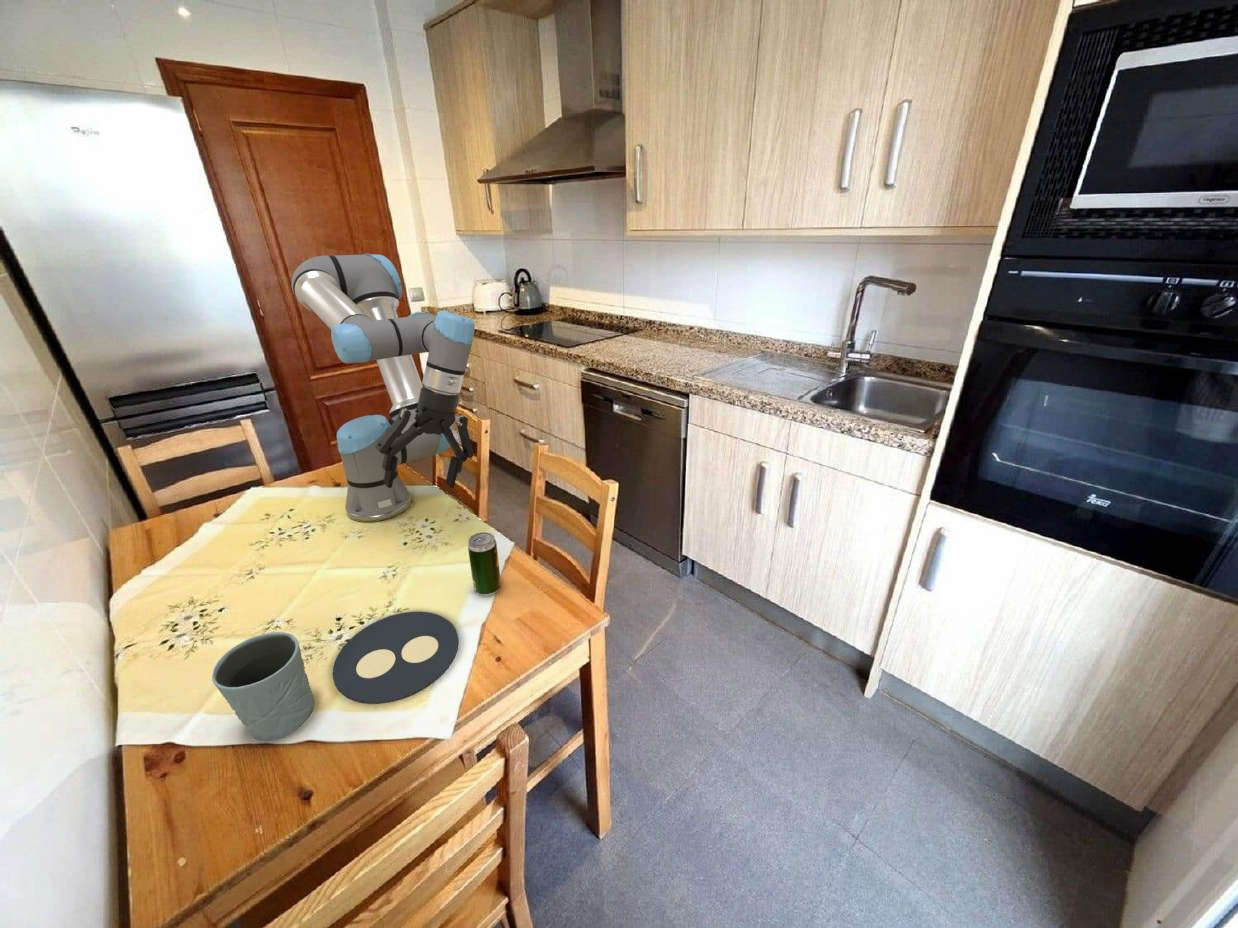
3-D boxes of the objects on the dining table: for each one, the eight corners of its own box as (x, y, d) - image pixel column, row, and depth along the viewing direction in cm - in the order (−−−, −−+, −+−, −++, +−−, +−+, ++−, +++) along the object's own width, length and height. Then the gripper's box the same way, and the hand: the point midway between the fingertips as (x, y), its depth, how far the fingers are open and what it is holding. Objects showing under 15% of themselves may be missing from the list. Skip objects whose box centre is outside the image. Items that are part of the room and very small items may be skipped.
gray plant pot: (333, 701, 78) (314, 644, 72) (269, 759, 69) (242, 699, 64) (289, 679, 81) (267, 623, 76) (223, 731, 73) (194, 672, 68)
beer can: (479, 600, 99) (472, 550, 93) (470, 585, 103) (463, 536, 97) (505, 591, 101) (500, 541, 96) (495, 576, 105) (489, 528, 100)
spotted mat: (332, 634, 90) (332, 632, 90) (447, 600, 99) (446, 598, 98) (333, 723, 74) (332, 722, 74) (469, 674, 83) (469, 672, 82)
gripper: (385, 386, 91) (364, 492, 96) (502, 403, 109) (480, 492, 114) (370, 375, 96) (351, 477, 101) (485, 393, 114) (464, 479, 119)
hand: (419, 485), depth 107 cm, fingers open, 13 cm apart
